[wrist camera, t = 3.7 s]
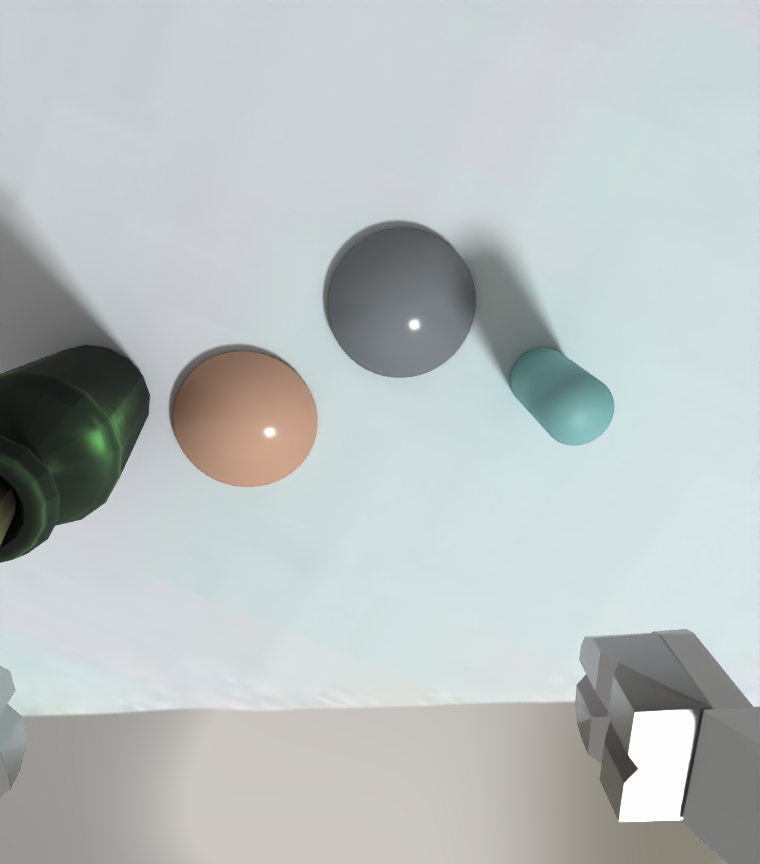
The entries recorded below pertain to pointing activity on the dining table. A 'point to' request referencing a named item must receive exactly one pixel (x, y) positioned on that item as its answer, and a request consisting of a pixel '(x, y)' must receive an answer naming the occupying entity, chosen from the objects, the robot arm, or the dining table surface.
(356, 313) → the grey flat disc
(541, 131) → the dining table surface
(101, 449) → the potion bottle
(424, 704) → the dining table surface
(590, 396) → the marker peg
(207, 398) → the tan round disc
